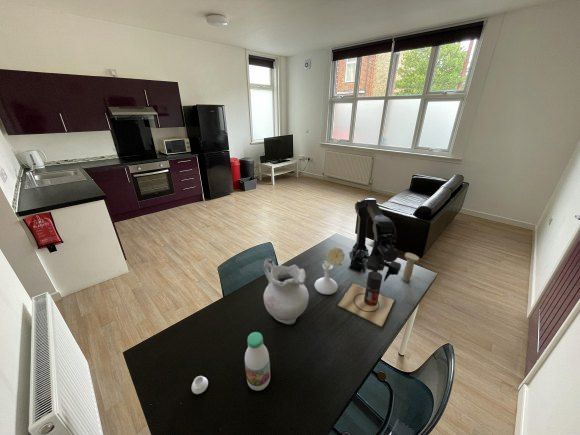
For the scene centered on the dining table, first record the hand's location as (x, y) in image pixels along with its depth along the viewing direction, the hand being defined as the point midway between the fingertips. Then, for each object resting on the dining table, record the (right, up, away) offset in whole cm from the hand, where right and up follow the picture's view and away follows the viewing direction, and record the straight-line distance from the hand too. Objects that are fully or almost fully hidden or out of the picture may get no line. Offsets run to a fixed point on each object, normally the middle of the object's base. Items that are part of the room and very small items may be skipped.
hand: (374, 276), depth 108 cm
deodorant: (-1, -12, +3) cm, 13 cm away
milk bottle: (-49, -28, -28) cm, 62 cm away
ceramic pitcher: (-41, -15, -1) cm, 44 cm away
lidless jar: (-68, -29, -30) cm, 79 cm away
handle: (+22, -6, +17) cm, 29 cm away
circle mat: (-3, -13, +2) cm, 13 cm away
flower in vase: (-19, -9, +11) cm, 24 cm away
